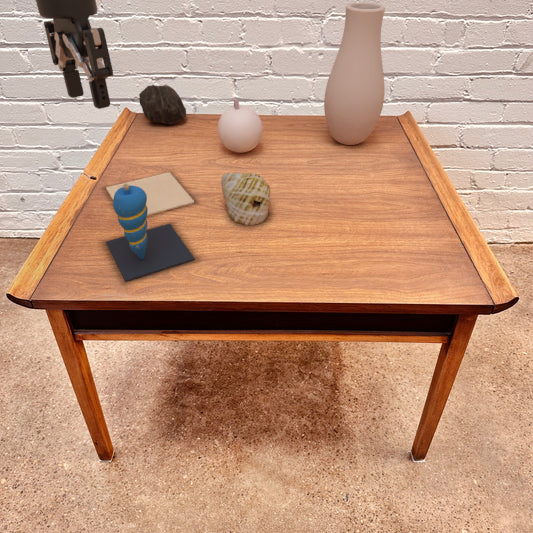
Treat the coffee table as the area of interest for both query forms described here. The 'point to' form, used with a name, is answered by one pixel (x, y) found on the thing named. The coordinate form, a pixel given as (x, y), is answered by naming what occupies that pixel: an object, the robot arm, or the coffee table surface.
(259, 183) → the seashell
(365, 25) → the vase
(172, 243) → the slate mat
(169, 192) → the cream mat
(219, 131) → the ornament
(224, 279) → the coffee table surface
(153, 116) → the rock
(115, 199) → the ornament
